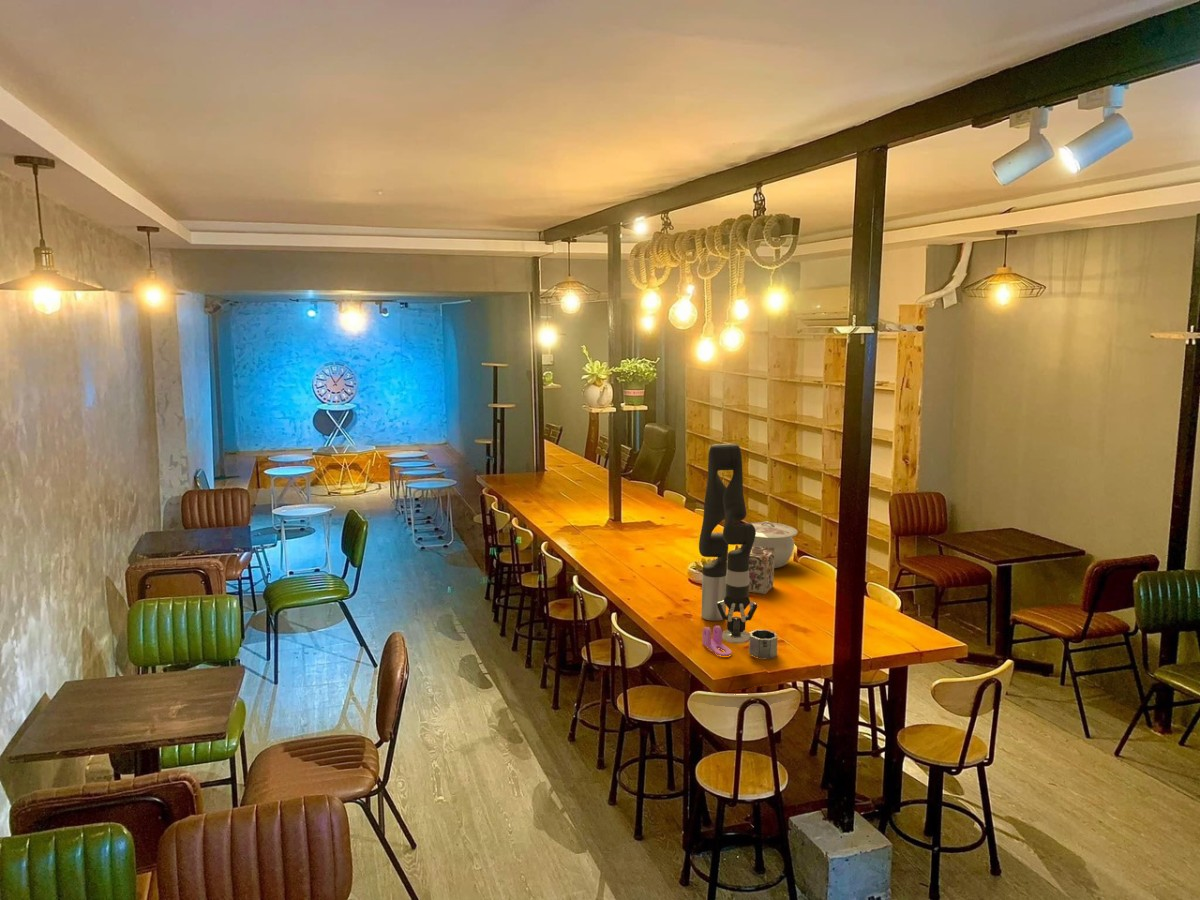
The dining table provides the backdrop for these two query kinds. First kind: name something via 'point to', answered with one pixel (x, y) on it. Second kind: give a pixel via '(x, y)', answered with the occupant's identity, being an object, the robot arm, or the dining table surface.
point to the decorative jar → (761, 570)
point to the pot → (763, 644)
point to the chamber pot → (775, 540)
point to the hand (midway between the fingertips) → (735, 631)
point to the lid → (736, 633)
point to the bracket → (715, 641)
